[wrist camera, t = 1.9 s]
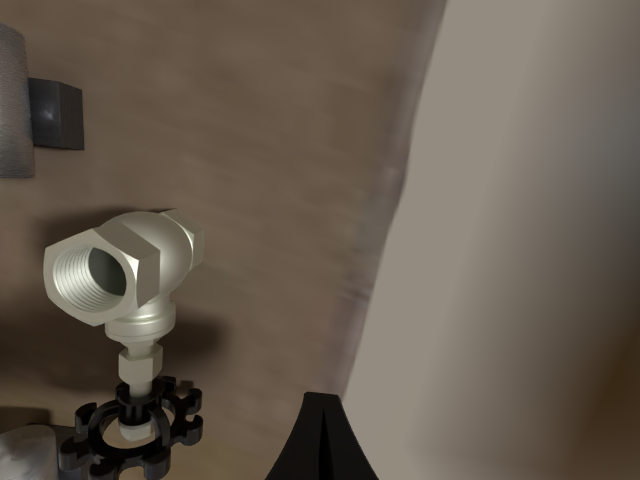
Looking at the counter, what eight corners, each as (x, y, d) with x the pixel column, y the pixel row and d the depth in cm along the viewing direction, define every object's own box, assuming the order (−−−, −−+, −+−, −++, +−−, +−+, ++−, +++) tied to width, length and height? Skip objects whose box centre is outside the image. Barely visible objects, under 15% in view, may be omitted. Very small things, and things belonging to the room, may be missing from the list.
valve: (118, 196, 17) (118, 382, 19) (-9, 210, 10) (16, 487, 13) (236, 213, 17) (221, 394, 19) (184, 237, 10) (172, 504, 13)
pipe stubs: (98, 483, 21) (29, 579, 16) (34, 477, 21) (-55, 571, 16) (80, 57, 15) (-35, 1, 10) (-9, 45, 15) (-169, -17, 10)
